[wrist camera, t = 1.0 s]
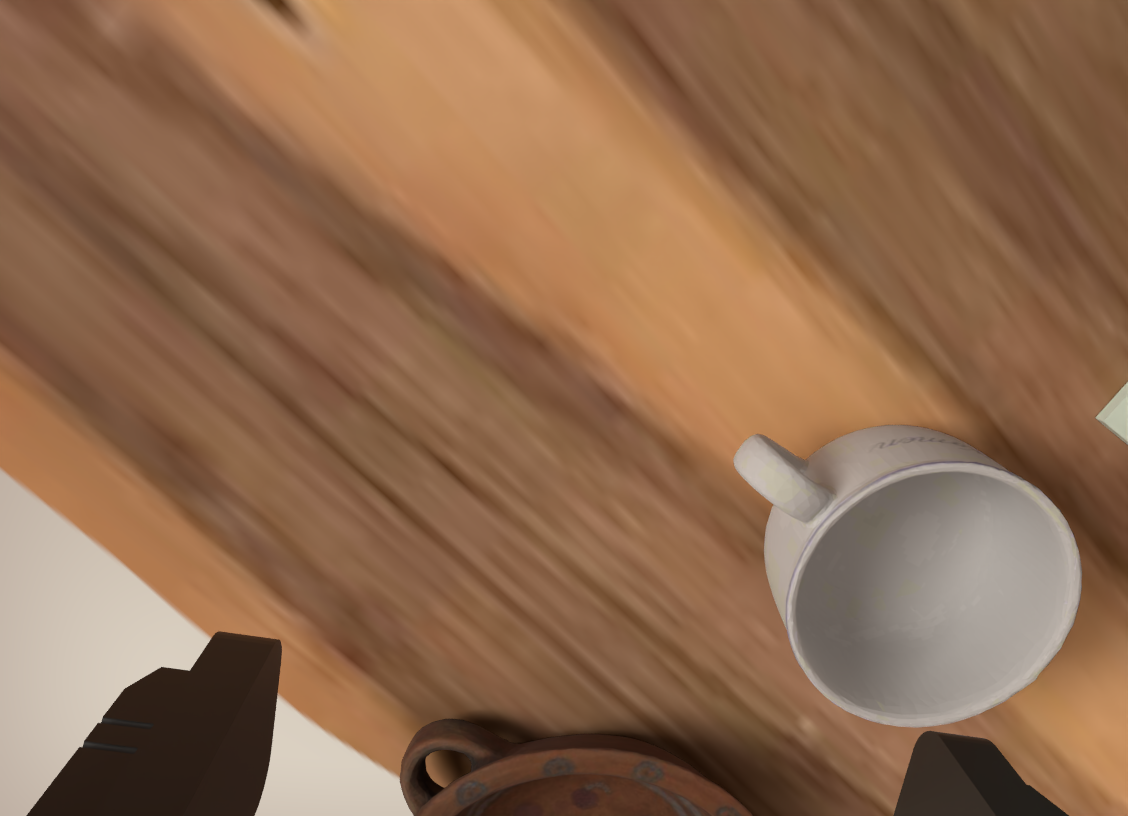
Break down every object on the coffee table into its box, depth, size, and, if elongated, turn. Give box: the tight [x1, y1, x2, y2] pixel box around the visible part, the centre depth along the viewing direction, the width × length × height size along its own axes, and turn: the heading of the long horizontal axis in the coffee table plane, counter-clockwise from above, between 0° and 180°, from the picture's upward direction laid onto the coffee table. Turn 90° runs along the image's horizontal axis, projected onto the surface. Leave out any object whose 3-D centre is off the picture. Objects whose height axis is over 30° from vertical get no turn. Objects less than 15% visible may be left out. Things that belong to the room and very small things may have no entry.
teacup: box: [733, 425, 1082, 727], centre depth 38 cm, size 14×11×8 cm
